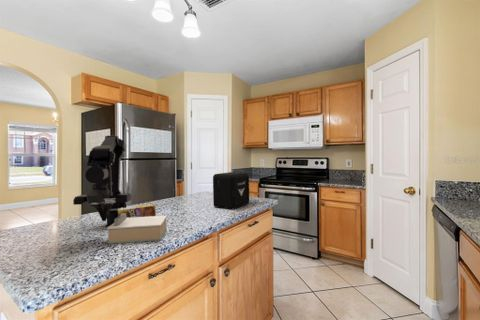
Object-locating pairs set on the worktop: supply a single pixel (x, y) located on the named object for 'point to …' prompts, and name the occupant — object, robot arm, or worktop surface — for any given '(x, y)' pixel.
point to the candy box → (138, 211)
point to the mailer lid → (136, 222)
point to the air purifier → (230, 190)
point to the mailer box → (137, 234)
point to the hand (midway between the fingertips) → (104, 220)
